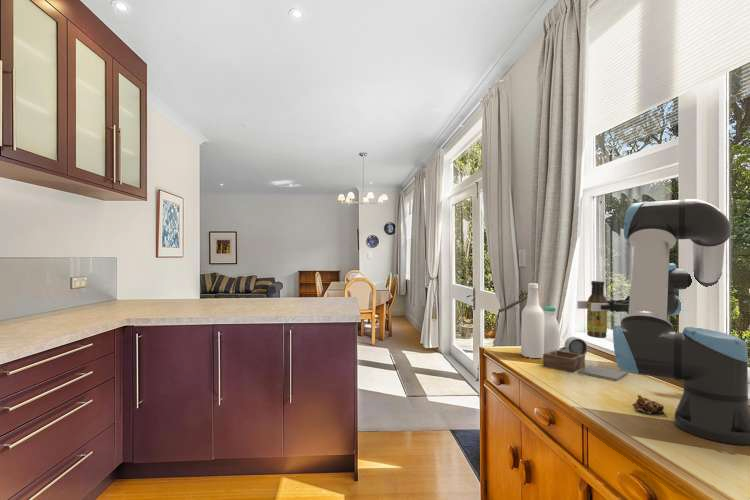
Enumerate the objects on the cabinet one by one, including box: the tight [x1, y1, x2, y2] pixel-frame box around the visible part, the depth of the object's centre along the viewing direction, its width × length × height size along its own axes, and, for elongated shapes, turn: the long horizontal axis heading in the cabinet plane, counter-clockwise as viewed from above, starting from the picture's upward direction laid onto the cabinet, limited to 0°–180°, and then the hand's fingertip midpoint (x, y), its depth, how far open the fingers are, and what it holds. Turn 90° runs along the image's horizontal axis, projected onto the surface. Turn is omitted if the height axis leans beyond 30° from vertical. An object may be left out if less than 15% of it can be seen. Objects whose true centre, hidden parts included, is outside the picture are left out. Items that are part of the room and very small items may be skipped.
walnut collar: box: [542, 350, 586, 373], centre depth 150 cm, size 11×11×4 cm
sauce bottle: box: [586, 280, 608, 339], centre depth 143 cm, size 6×6×20 cm
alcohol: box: [520, 282, 544, 359], centre depth 166 cm, size 9×9×30 cm
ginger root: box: [631, 394, 668, 418], centre depth 110 cm, size 7×12×4 cm, turn 157°
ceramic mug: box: [559, 336, 589, 356], centre depth 170 cm, size 11×8×8 cm
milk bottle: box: [543, 306, 560, 354], centre depth 170 cm, size 8×8×20 cm
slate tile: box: [578, 364, 629, 382], centre depth 142 cm, size 12×12×1 cm
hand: (584, 305), depth 142 cm, fingers closed on sauce bottle, 6 cm apart
